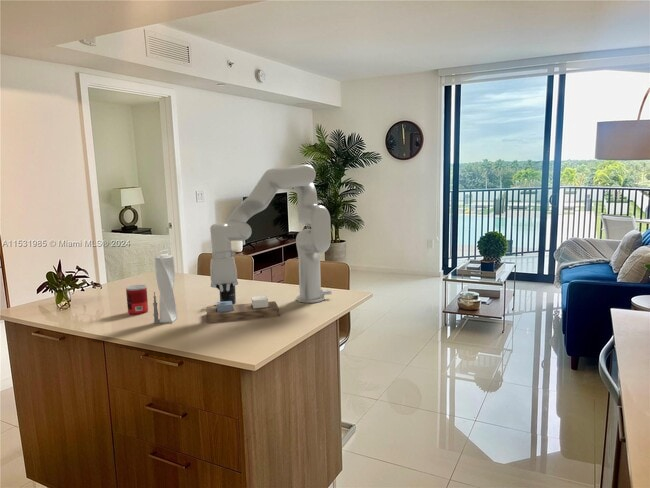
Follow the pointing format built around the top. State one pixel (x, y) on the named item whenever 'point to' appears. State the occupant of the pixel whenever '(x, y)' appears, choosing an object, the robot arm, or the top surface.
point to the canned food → (137, 299)
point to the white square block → (260, 302)
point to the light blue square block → (224, 306)
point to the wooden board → (242, 312)
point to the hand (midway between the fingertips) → (225, 300)
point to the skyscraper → (165, 289)
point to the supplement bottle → (231, 294)
